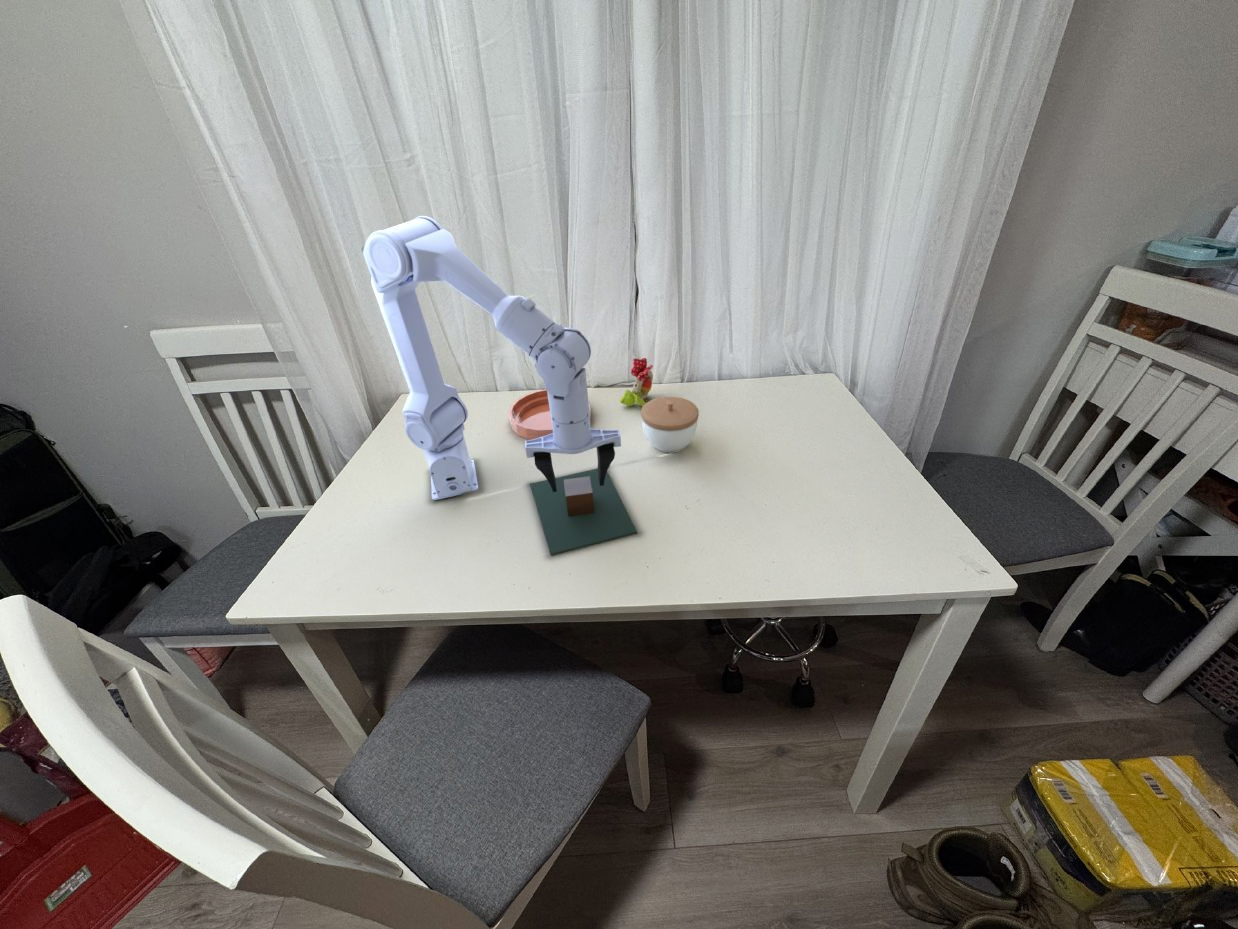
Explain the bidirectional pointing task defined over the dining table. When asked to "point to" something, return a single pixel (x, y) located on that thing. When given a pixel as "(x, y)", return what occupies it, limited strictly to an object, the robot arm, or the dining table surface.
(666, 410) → the trinket box
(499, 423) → the dining table surface
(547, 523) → the mat
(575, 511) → the block
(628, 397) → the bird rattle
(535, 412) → the round pink tray
